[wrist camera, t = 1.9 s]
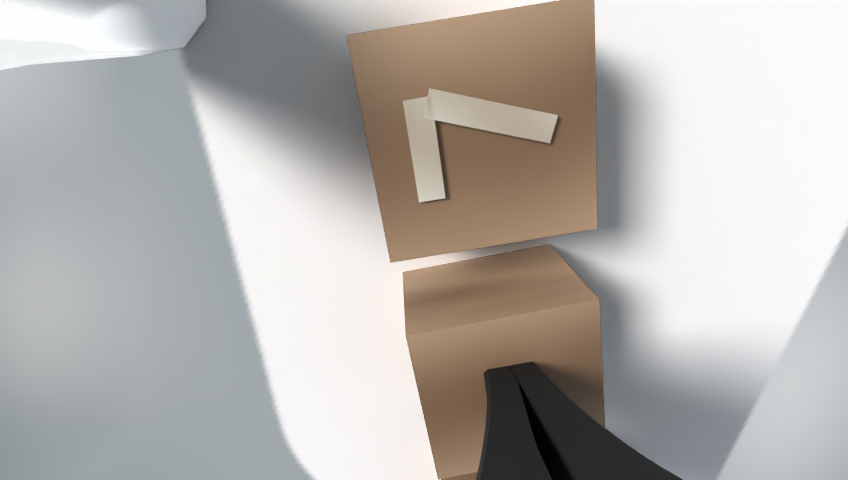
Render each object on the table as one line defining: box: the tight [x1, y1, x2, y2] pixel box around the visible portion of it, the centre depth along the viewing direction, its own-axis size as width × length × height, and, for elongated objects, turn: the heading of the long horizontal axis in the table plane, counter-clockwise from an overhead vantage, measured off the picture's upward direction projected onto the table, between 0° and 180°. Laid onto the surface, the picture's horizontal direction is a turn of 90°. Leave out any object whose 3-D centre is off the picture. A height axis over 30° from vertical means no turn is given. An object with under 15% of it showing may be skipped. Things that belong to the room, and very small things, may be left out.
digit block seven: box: [346, 0, 597, 263], centre depth 12 cm, size 5×5×4 cm
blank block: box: [403, 244, 605, 479], centre depth 14 cm, size 5×5×4 cm
